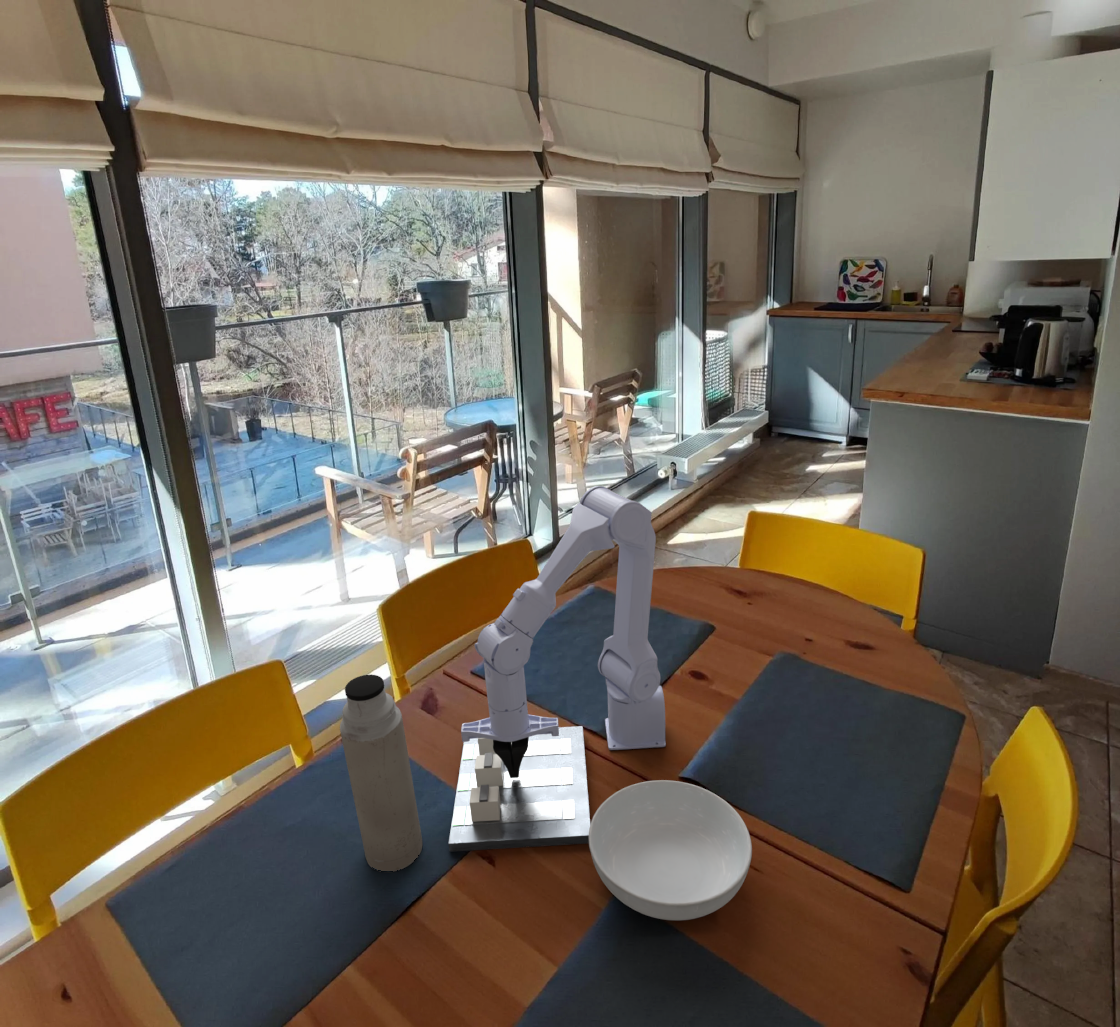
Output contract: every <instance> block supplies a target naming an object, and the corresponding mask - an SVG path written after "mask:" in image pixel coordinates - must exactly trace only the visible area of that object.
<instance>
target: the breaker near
mask: <svg viewBox="0 0 1120 1027" xmlns="http://www.w3.org/2000/svg"><path fill="white" fill-rule="evenodd" d="M500 808H501V803H500V794H499V786H493V787H489V785H481V787H476V788H471V795H470V810H471V818H472V822H476V821H493V820H500Z"/></svg>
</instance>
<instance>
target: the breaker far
mask: <svg viewBox="0 0 1120 1027" xmlns="http://www.w3.org/2000/svg"><path fill="white" fill-rule="evenodd" d="M478 747H479V755H485V753H492V752H493V754H496V753H495V752H494V750H493V740H492V739H486V738H478Z"/></svg>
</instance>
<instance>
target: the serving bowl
mask: <svg viewBox="0 0 1120 1027" xmlns="http://www.w3.org/2000/svg"><path fill="white" fill-rule="evenodd" d="M588 847H589V851H590V854H591V859H592V863H593V866H594V868H595V870H596V872H597V874H598V876H599V877H600V879H601V882H602V883H603V884H604V885H605V886H606V888H607V889H608V890H609V891H610V893H612V895H614V897H616V899H617V900H619V901H620V902H621V903H623V904H624V905H625V906H627V907H629V908H631V909H632V910H634V911H636V912H638V913H640V914H642V915H645V916H648V917H651V918H654V919H658V920H659V919H660V920H666V921H689V920H695V919H700V918H702V917H705V916H707V915H709V914H712V913H714V912H716V911H718V910H720V908H721V909H722V908H723V907H724V906H725V905H726V904H728V903H729V902H730V901H731V900H732V899H733V898H734V897H735V896H736V895H737V893H738V891H740V889H741V887H742V886H743V883H744V882H745V879H746V877H747V875H748V872H749V869H750V865H751V861H752V855H753V846H752V839H751V835H750V832H749V828H747V825H746V823H745V822H744V820H743V818H742V817H741V815H740V814H739V812H738V811H737V810H736V809H735V807H733V806H732V805H731V804H730V803H728V802H727V801H726V800H725V799H723V798H722V797H720V796H718V795H717V793H716V794H715V793H714V792H712V791H710V790H708V789H707V788H706V789H705V788H703V787H702V786H698V785H695V784H692V783H688V782H683V781H678V780H677V781H676V780H669V779H668V780H667V779H665V780H664V779H661V780H660V779H659V780H647V781H643V782H642V781H641V782H638V783H635V784H631V785H628V786H625V787H624V788H621V789H620V790H618V791H616V792H614V793H613V794H611V795H610V796H609V797H608V798H606V799H605V800H604V801H603V802H602V803H601V804H600V805H599V807H598V808H597V810H596V811H595V813H594V814H593V816H592V819H591V820H590V828H589V843H588Z"/></svg>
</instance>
